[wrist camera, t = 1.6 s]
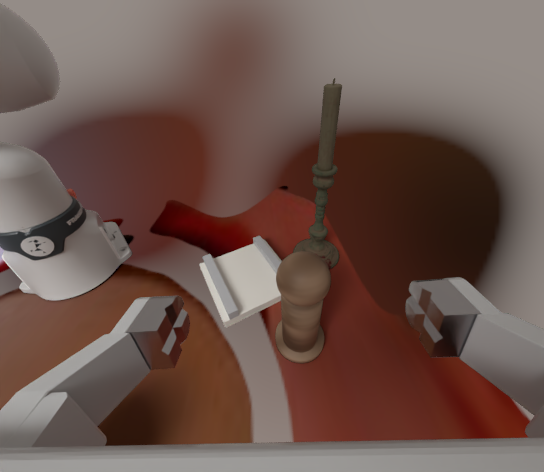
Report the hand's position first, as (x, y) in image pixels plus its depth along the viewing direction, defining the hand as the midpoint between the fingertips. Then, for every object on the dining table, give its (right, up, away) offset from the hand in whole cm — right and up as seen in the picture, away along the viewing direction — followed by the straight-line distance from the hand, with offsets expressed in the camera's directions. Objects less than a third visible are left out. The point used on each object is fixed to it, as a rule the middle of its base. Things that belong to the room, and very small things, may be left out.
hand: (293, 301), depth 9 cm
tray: (-5, -6, +35) cm, 36 cm away
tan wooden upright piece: (+3, -13, +26) cm, 29 cm away
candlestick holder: (+8, -2, +40) cm, 41 cm away
